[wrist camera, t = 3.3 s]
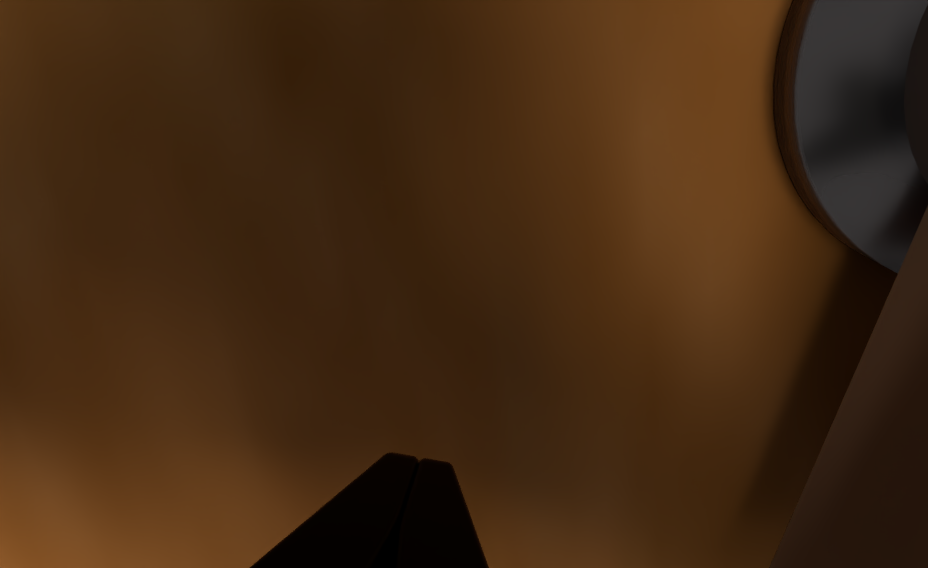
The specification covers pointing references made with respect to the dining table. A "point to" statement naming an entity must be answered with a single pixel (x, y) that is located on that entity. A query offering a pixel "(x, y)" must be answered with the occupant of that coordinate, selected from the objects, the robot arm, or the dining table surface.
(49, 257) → the dining table surface
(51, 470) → the dining table surface
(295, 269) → the dining table surface
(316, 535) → the robot arm
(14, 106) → the dining table surface
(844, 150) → the pivot base
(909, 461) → the brown square bar
